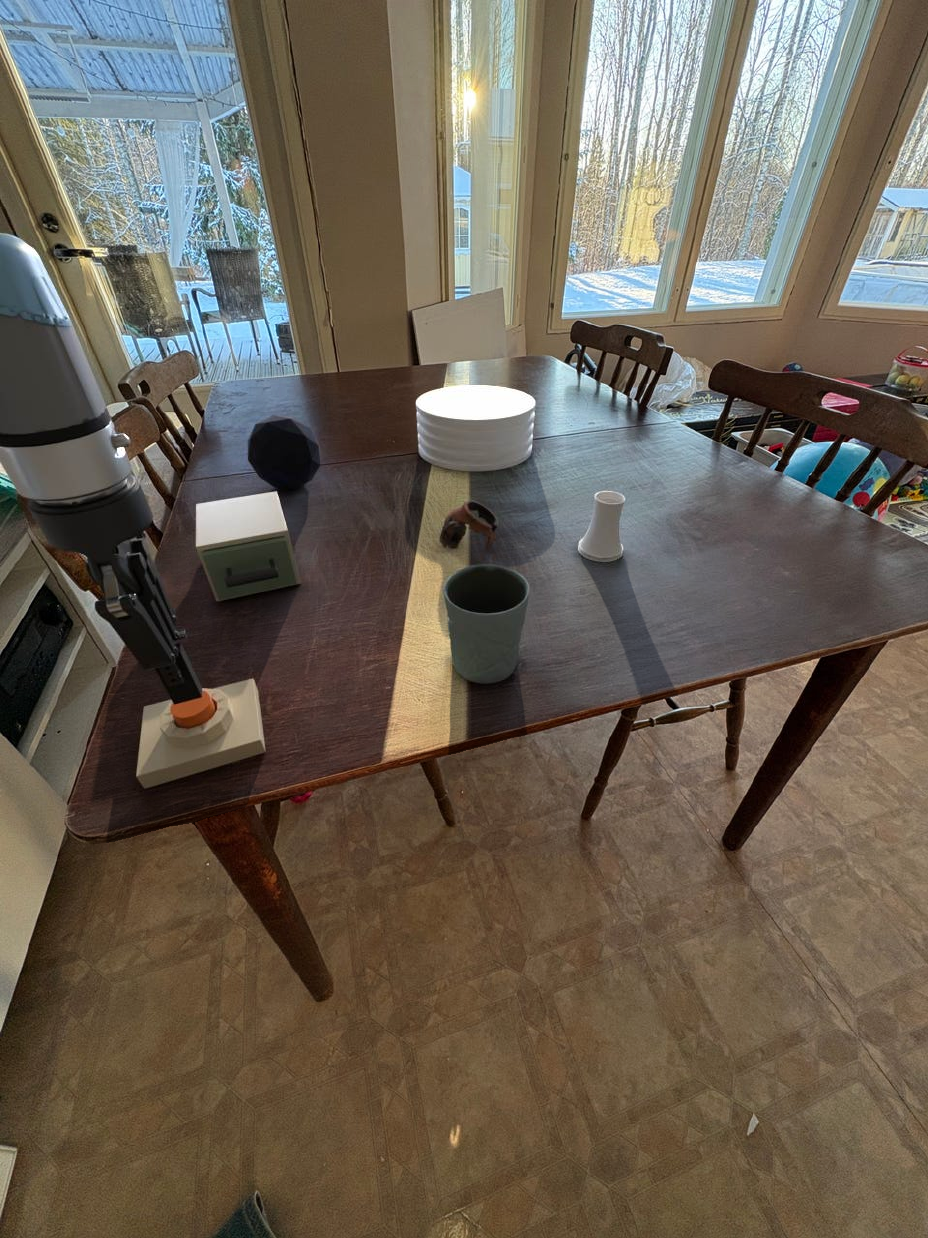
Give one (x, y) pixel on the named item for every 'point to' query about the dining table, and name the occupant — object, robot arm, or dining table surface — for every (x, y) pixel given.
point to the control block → (200, 736)
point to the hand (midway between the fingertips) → (188, 696)
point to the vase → (604, 529)
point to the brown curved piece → (462, 516)
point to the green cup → (485, 620)
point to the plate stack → (475, 427)
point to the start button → (193, 711)
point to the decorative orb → (283, 452)
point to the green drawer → (250, 567)
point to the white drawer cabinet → (240, 525)
